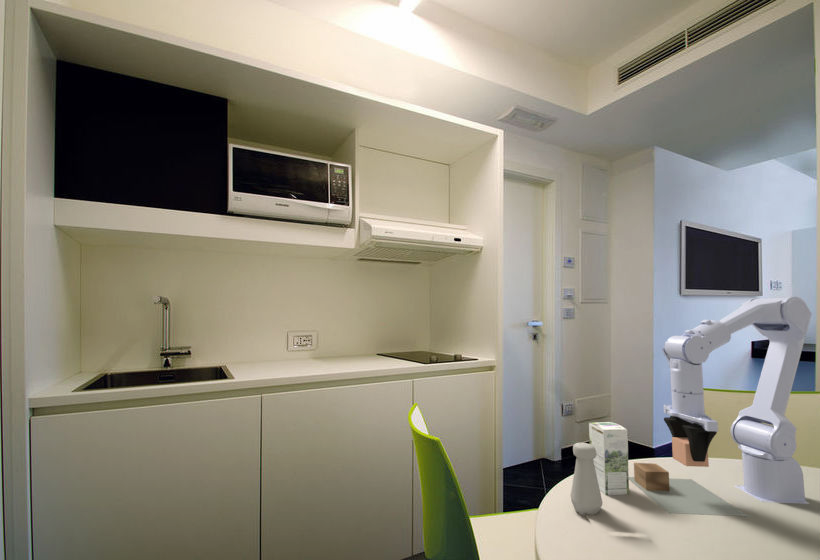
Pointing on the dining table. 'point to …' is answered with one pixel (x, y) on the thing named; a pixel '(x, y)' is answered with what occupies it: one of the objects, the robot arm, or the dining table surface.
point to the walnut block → (651, 476)
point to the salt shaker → (585, 481)
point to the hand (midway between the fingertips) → (690, 456)
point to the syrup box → (610, 457)
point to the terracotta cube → (685, 453)
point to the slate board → (690, 499)
